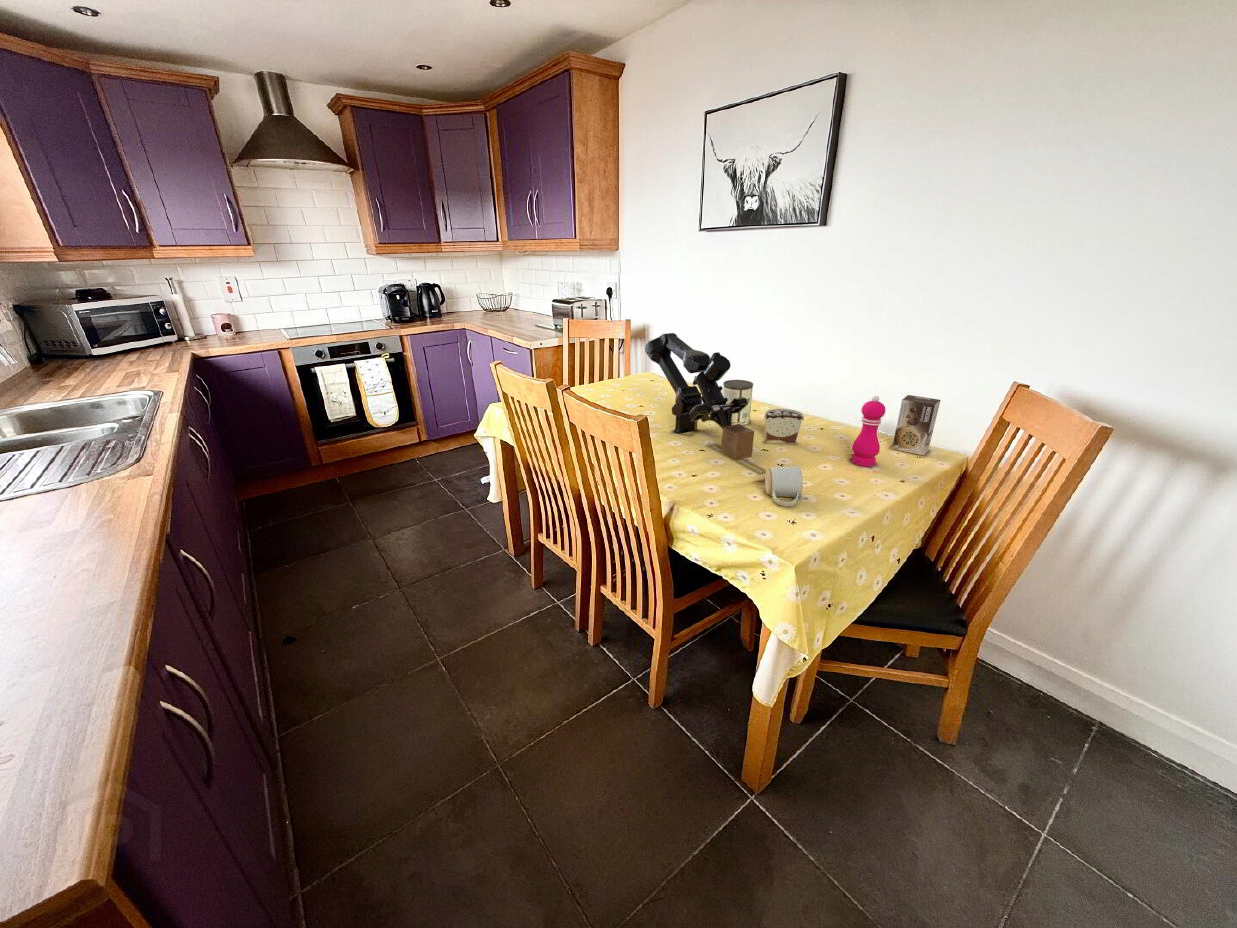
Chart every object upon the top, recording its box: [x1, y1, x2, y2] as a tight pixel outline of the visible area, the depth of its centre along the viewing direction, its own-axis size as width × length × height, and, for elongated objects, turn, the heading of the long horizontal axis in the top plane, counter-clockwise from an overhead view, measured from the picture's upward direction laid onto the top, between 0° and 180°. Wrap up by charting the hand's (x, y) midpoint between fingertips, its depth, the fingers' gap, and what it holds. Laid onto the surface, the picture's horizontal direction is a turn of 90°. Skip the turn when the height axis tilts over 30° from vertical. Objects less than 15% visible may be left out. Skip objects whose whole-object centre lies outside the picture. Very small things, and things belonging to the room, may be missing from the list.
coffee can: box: [722, 379, 754, 426], centre depth 179 cm, size 10×10×14 cm
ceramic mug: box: [764, 466, 804, 508], centre depth 124 cm, size 11×8×8 cm
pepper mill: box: [851, 395, 886, 467], centre depth 142 cm, size 7×7×20 cm
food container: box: [763, 408, 805, 445], centre depth 161 cm, size 12×6×10 cm, turn 84°
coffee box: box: [891, 394, 941, 456], centre depth 151 cm, size 9×6×16 cm
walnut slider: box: [720, 423, 755, 461], centre depth 147 cm, size 7×6×8 cm
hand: (729, 433), depth 150 cm, fingers closed, pressing on walnut slider
